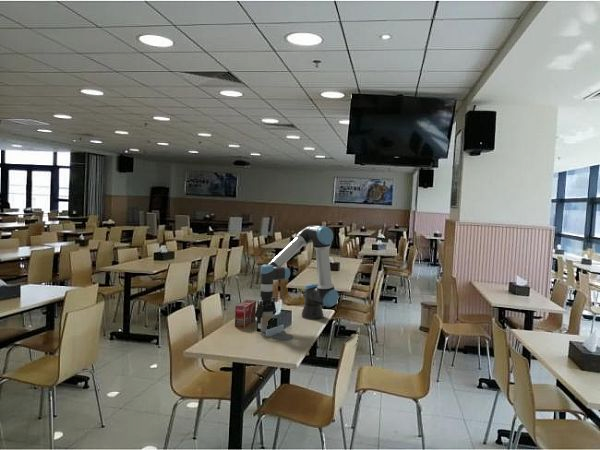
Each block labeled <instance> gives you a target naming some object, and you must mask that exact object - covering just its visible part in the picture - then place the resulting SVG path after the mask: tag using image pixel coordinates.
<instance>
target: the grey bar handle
mask: <svg viewBox="0 0 600 450" xmlns="http://www.w3.org/2000/svg"><path fill="white" fill-rule="evenodd" d="M277 326H278V327H277ZM277 326H274V327H271V328H270V329H267V330H266V333H265V334H264V335H263V337H265V338H271V336H272V337H273V335H275V334H281V333H285V332H286V330H284V329H285V328H284V327H285V326H284V324H280V325H277Z"/></svg>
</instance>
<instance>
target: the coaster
mask: <svg viewBox="0 0 600 450" xmlns="http://www.w3.org/2000/svg"><path fill="white" fill-rule="evenodd" d="M272 338H273V339H274V340H277V341H291V340H293V339H294V335H293V334H290V333H285V332H280V333H277V334H275V335H272Z"/></svg>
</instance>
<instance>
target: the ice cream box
mask: <svg viewBox="0 0 600 450" xmlns="http://www.w3.org/2000/svg"><path fill="white" fill-rule="evenodd" d="M256 310H257V300H252V299H246V300H244V301H242V302H240V303H238V304H237V305H235V310H234V311H235V312H234V313H235V315H234V316H235V317H234V328H242V329H243V328H244V329H245V328H247V327H248V326H249V325H251V324H252V323H253V322H255V321H256V318H257V317H255V314H256Z"/></svg>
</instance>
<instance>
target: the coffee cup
mask: <svg viewBox="0 0 600 450" xmlns="http://www.w3.org/2000/svg"><path fill="white" fill-rule="evenodd" d="M273 311H274V309H273V307H272V306H266V308H264V310H263V314H262V317H261V318H262V329H260V332H261V333H265V334H266V330H267V326H268V321H269V320H270V319H271V318H273Z"/></svg>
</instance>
